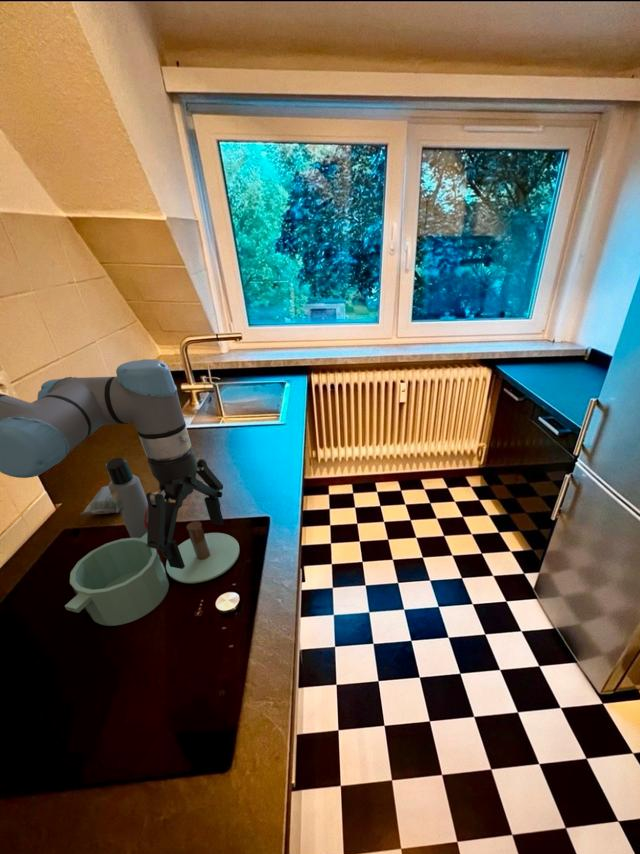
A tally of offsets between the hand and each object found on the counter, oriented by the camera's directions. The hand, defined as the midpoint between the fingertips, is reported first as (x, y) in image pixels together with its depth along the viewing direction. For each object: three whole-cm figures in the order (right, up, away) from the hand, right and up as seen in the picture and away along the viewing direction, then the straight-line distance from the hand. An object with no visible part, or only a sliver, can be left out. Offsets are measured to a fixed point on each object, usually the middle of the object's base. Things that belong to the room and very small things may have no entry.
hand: (199, 543), depth 79 cm
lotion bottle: (-16, 0, +9) cm, 18 cm away
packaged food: (-30, +6, +19) cm, 36 cm away
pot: (-11, -9, -6) cm, 15 cm away
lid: (0, -3, +2) cm, 4 cm away
